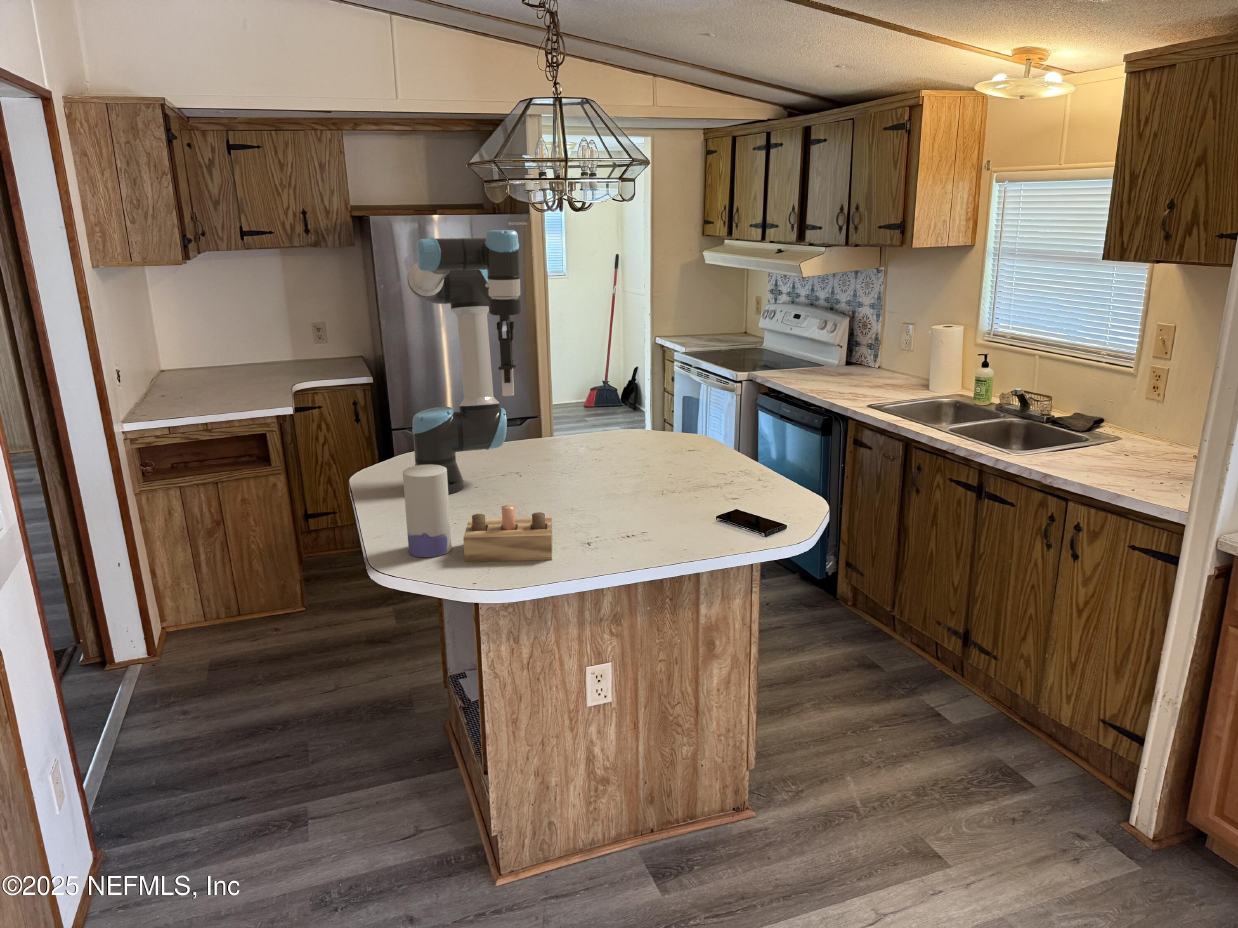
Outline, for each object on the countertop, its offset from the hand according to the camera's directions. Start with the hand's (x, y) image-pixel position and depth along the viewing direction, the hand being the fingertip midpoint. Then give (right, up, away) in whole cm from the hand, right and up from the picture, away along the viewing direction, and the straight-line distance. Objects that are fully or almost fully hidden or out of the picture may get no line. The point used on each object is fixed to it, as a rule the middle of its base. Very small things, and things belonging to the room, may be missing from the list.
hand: (508, 395), depth 210 cm
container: (-18, -38, -5) cm, 42 cm away
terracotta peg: (+1, -35, -7) cm, 35 cm away
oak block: (+1, -38, -6) cm, 38 cm away
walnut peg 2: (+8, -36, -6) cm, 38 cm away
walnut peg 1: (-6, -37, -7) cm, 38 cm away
